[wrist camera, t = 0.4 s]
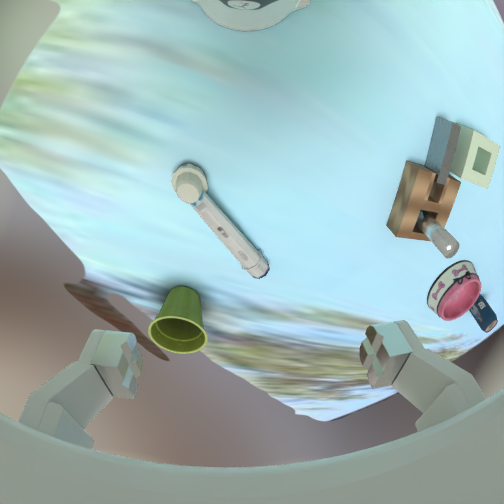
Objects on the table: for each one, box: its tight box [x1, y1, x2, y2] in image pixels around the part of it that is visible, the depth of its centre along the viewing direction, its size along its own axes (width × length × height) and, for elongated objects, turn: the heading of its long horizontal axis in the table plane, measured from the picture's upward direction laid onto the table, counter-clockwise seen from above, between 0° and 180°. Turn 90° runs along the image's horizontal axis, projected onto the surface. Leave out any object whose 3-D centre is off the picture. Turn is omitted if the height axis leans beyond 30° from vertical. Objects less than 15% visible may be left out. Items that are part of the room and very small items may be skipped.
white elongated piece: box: [172, 164, 270, 279], centre depth 47 cm, size 5×7×25 cm
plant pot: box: [148, 286, 208, 354], centre depth 55 cm, size 12×12×11 cm
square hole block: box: [450, 123, 500, 189], centre depth 38 cm, size 10×10×6 cm
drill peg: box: [416, 209, 459, 258], centre depth 43 cm, size 4×4×14 cm
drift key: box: [424, 117, 461, 185], centre depth 39 cm, size 12×2×5 cm, turn 174°
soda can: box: [469, 296, 498, 333], centre depth 63 cm, size 7×7×12 cm
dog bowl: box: [427, 260, 481, 321], centre depth 60 cm, size 18×19×7 cm
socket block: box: [387, 161, 461, 241], centre depth 46 cm, size 14×12×4 cm
